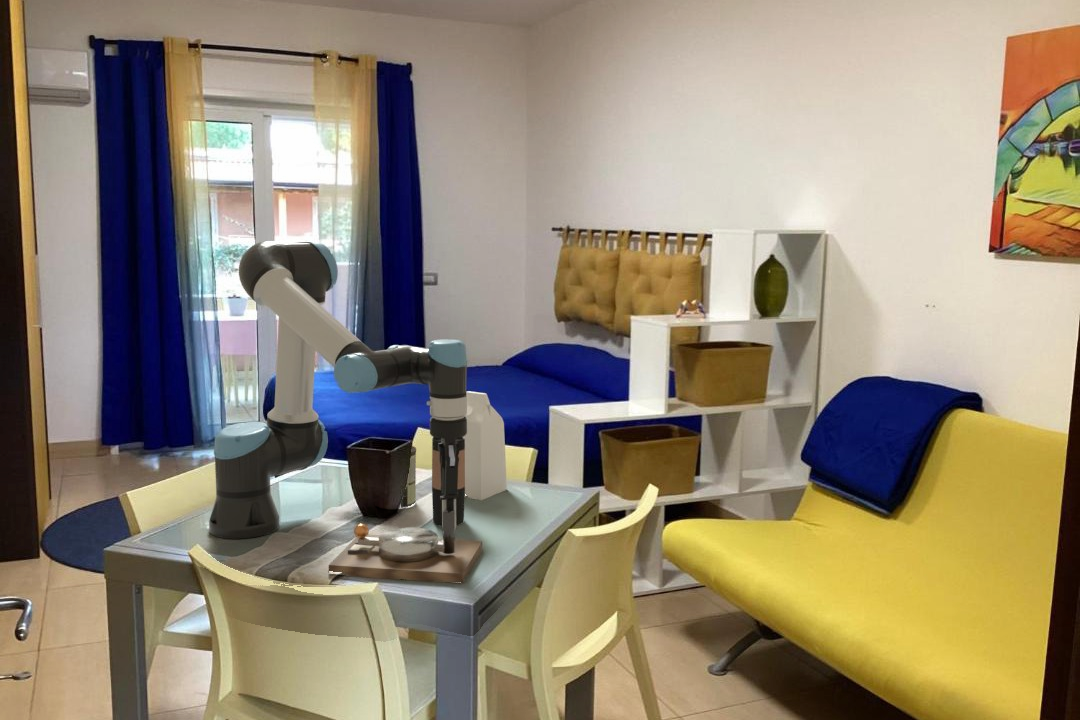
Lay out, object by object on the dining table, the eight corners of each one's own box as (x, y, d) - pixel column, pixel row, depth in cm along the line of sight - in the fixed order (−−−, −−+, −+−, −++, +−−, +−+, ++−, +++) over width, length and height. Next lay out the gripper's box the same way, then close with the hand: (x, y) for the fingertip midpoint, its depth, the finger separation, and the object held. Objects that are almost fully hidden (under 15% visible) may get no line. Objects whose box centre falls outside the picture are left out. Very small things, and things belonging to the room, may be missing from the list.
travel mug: (425, 523, 216) (425, 439, 213) (443, 514, 222) (443, 432, 220) (453, 528, 212) (453, 443, 209) (471, 519, 219) (471, 436, 216)
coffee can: (390, 513, 223) (390, 455, 221) (366, 503, 230) (365, 448, 228) (425, 504, 230) (424, 449, 228) (400, 495, 237) (399, 441, 235)
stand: (328, 574, 184) (328, 561, 183) (360, 542, 202) (359, 530, 202) (462, 583, 180) (462, 570, 180) (482, 550, 199) (482, 537, 198)
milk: (506, 489, 244) (507, 392, 241) (481, 500, 235) (481, 398, 231) (469, 482, 251) (470, 387, 247) (443, 492, 241) (443, 393, 237)
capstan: (344, 557, 187) (343, 514, 185) (364, 537, 198) (364, 496, 197) (446, 564, 183) (446, 520, 182) (461, 544, 195) (461, 503, 194)
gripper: (426, 410, 194) (428, 519, 198) (433, 423, 182) (434, 539, 185) (462, 409, 196) (463, 517, 199) (471, 422, 183) (471, 537, 187)
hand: (449, 528), depth 192 cm, fingers closed
